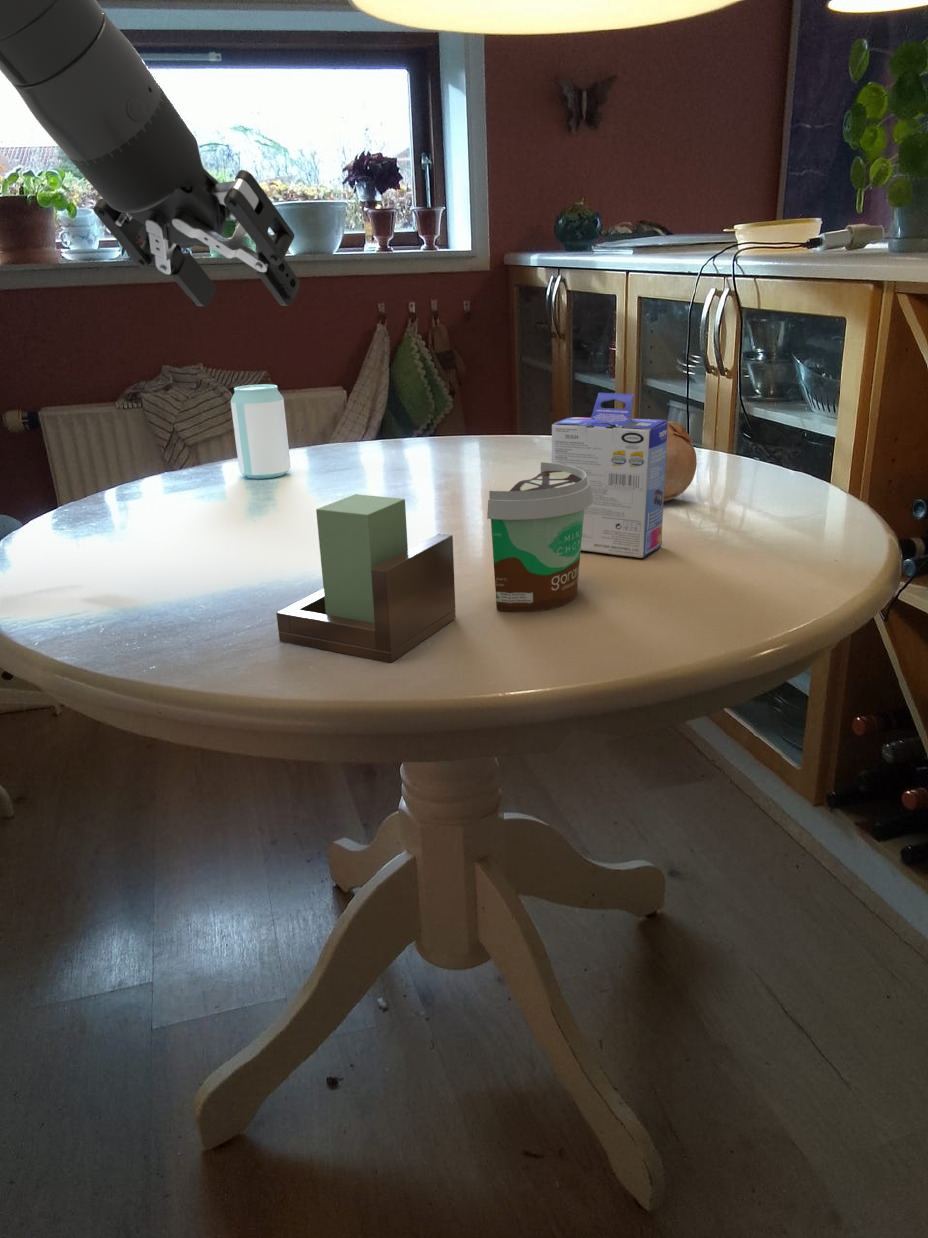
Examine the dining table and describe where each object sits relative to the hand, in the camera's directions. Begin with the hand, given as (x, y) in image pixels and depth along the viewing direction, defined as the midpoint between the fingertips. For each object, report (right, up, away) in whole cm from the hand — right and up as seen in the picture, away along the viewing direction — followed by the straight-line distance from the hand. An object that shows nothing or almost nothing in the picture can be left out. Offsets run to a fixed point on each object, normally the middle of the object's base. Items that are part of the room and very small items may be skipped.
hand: (248, 297), depth 70 cm
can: (-11, -5, +54) cm, 56 cm away
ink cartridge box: (+31, -18, +17) cm, 40 cm away
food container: (+24, -24, +4) cm, 34 cm away
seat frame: (+10, -26, -2) cm, 28 cm away
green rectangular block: (+10, -25, -2) cm, 27 cm away
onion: (+39, -12, +34) cm, 53 cm away
